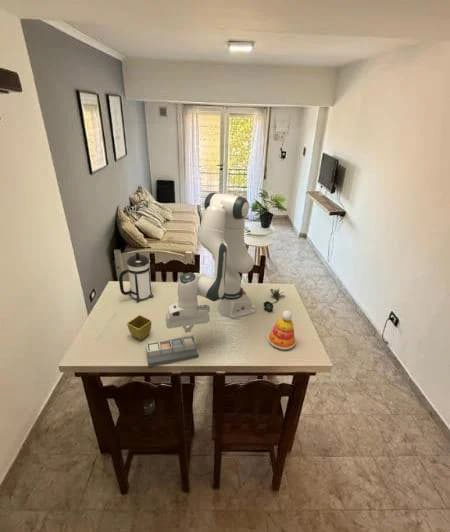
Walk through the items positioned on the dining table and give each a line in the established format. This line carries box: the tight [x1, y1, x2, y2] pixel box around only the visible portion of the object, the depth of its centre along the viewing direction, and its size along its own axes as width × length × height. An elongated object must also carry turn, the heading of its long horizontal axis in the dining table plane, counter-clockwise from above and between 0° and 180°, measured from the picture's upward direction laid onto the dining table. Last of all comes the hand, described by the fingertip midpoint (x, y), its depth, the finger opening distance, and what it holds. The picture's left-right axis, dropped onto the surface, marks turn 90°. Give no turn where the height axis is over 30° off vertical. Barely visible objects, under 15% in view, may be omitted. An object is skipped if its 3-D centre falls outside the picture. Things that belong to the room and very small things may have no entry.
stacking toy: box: [267, 310, 297, 351], centre depth 153 cm, size 14×14×20 cm
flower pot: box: [126, 314, 152, 341], centre depth 155 cm, size 9×9×9 cm
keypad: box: [145, 334, 199, 368], centre depth 146 cm, size 23×14×6 cm, turn 108°
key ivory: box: [184, 338, 193, 344], centre depth 148 cm, size 4×4×4 cm
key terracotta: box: [161, 343, 170, 349], centre depth 146 cm, size 4×4×4 cm
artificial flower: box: [263, 287, 285, 313], centre depth 189 cm, size 9×22×10 cm, turn 148°
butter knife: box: [95, 325, 109, 341], centre depth 163 cm, size 1×24×3 cm
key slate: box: [172, 340, 182, 346], centre depth 147 cm, size 4×4×4 cm
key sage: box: [149, 344, 158, 351], centre depth 144 cm, size 4×4×4 cm
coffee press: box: [118, 252, 154, 304], centre depth 182 cm, size 17×16×30 cm
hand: (187, 331), depth 145 cm, fingers closed
